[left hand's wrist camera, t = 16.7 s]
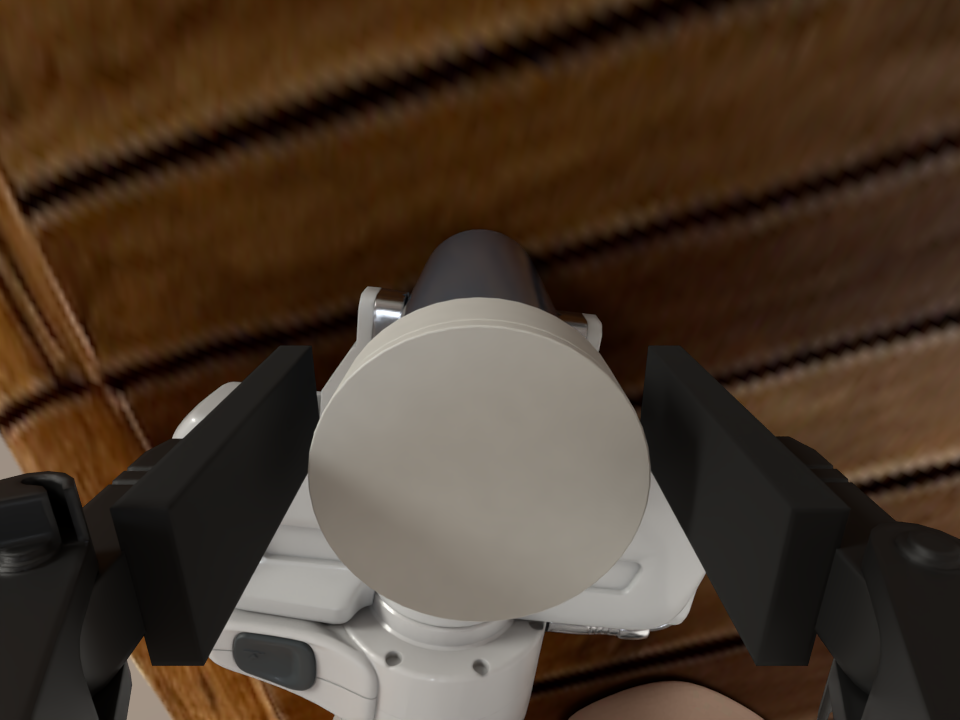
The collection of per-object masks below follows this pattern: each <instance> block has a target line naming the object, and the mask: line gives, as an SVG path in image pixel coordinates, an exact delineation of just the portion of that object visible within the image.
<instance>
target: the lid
mask: <svg viewBox="0 0 960 720" xmlns="http://www.w3.org/2000/svg"><path fill="white" fill-rule="evenodd" d="M650 480H651V464H650V456H649V448H648V444H647V440H646V437H645V433H644V430H643V427H642V425H641V422H640V420H639V418H638V416H637V414H636V412H635V409H634V408H633V406H632V404H631V403H630V401H629V399H628V398H627V396H626V395H625V393H624V391H623V390H622V388H621V386H620V385H619V383H618V381H617V380H616V378H615V377H614V375H613V373H612V372H611V370H610V368H609V367H608V365H607V364H606V362H605V361H604V359H603V358H602V356H601V355H600V353H599V352H598V351H597V350H596V349H595V348H594V347H593V346H592V344H591V343H590V342H589V341H588V340H587V339H586V338H585V337H583V336H582V335H581V334H580V333H579V332H578V331H576V330H575V329H574V328H573V327H571V326H570V325H568V324H567V323H565V322H564V321H562V320H561V319H559V318H557V317H556V316H553V315H551V314H549V313H547V312H545V311H543V310H541V309H539V308H536V307H533V306H529V305H526V304H523V303H520V302H515V301H510V300H504V299H499V298H481V297H475V298H462V299H454V300H449V301H444V302H439V303H435V304H432V305H429V306H426V307H424V308H421V309H418V310H415V311H414V312H412V313H410V314H408V315H406V316H404V317H402V318H400V319H398V320H396V321H395V322H394V323H392V324H391V325H389V326H388V327H386V328H385V329H383V330H382V331H381V332H380V333H379V334H378V335H377V336H375V337H374V338H373V339H372V340H371V341H370V342H369V343H368V344H367V345H366V346H365V347H364V349H363V350H362V351H361V352H360V354H359V355H358V356H357V357H356V359H355V360H354V362H353V363H352V365H351V367H350V368H349V370H348V372H347V373H346V375H345V377H344V378H343V380H342V381H341V383H340V385H339V386H338V388H337V390H336V391H335V393H334V394H333V396H332V398H331V399H330V401H329V403H328V404H327V406H326V408H325V409H324V411H323V413H322V415H321V417H320V420H319V422H318V424H317V427H316V429H315V432H314V435H313V439H312V443H311V447H310V451H309V462H308V484H309V493H310V498H311V502H312V507H313V511H314V514H315V516H316V519H317V522H318V524H319V527H320V529H321V531H322V533H323V535H324V537H325V538H326V540H327V542H328V544H329V546H330V547H331V548H332V550H333V551H334V552H335V554H336V555H337V557H338V558H339V559H340V561H341V562H342V563H343V564H344V565H345V566H346V567H347V568H348V569H349V570H350V571H351V572H352V573H353V574H354V575H355V576H356V577H357V578H359V579H360V580H361V581H362V582H363V583H365V584H366V585H367V586H368V587H370V588H371V589H373V590H374V591H376V592H377V593H379V594H381V595H382V596H384V597H385V598H387V599H389V600H391V601H393V602H395V603H397V604H399V605H401V606H403V607H406V608H409V609H412V610H414V611H417V612H420V613H423V614H427V615H431V616H435V617H439V618H444V619H451V620H458V621H474V622H487V621H502V620H508V619H514V618H520V617H524V616H528V615H532V614H535V613H539V612H542V611H545V610H547V609H550V608H552V607H555V606H557V605H560V604H562V603H564V602H566V601H567V600H569V599H571V598H573V597H575V596H577V595H578V594H580V593H581V592H583V591H584V590H586V589H587V588H589V587H590V586H592V585H593V584H594V583H595V582H597V581H598V580H599V579H600V578H601V577H602V576H604V575H605V574H606V573H607V572H608V571H609V570H610V569H611V568H612V567H613V566H614V564H615V563H616V562H617V561H618V560H619V559H620V558H621V556H622V555H623V554H624V552H625V551H626V549H627V548H628V546H629V545H630V543H631V542H632V540H633V538H634V536H635V534H636V532H637V530H638V528H639V526H640V524H641V521H642V518H643V515H644V513H645V510H646V507H647V502H648V496H649V491H650Z"/></svg>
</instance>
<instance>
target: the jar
mask: <svg viewBox="0 0 960 720" xmlns="http://www.w3.org/2000/svg"><path fill="white" fill-rule="evenodd" d="M475 297H481V298H499V299H504V300H510V301H515V302H520V303H523V304H526V305H529V306H533V307H536V308H539V309H541V310H543V311H545V312H547V313H549V314H551V315H553V316H556V317H557V318H559V319H560V317H559V315H558V313H557V311H556V309H555V307H554V305H553V303H552V301H551V299H550V297H549V295H548V293H547V291H546V289H545V287H544V285H543V282H542V280H541V278H540V276H539V274H538V272H537V270H536V268H535V266H534V264H533V262H532V261H531V259H530V257H529V255H528V254H527V253H526V251H525V250H524V249H523V248H522V247H521V246H520V245H519V244H518V243H517V242H515V241H514V240H513V239H511V238H509V237H507V236H506V235H503V234H501V233H498V232H495V231H491V230H482V229H481V230H469V231H464V232H461V233H458V234H456V235H454V236H451V237H450V238H448V239H447V240H445V241H444V242H443V243H441V244H440V245H439V246H438V247H437V248H436V249H435V250H434V251H433V253H432V254H431V256H430V257H429V259H428V261H427V263H426V265H425V267H424V269H423V271H422V273H421V275H420V277H419V279H418V281H417V283H416V285H415V287H414V289H413V291H412V293H411V295H410V297H409V299H408V301H407V303H406V305H405V307H404V309H403V311H402V313H401V315H400V317H399V319H400V318H402V317H404V316H406V315H408V314H410V313H412V312H414V311H415V310H418V309H421V308H424V307H426V306H429V305H432V304H435V303H439V302H444V301H449V300H454V299H462V298H475Z"/></svg>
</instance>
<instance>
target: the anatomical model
mask: <svg viewBox="0 0 960 720" xmlns="http://www.w3.org/2000/svg"><path fill="white" fill-rule="evenodd" d="M568 720H764V719H763V718H761V717H760V716H758V715H757V714H755V713H754V712H752V711H751V710H749V709H748V708H746V707H744V706H742V705H741V704H739V703H737V702H735V701H733V700H732V699H730V698H728V697H726V696H724V695H722V694H720V693H718V692H715V691H713V690H711V689H708V688H706V687H703V686H700V685H696V684H693V683H689V682H681V681H661V682H654V683H649V684H645V685H640V686H636V687H633V688H630V689H627V690H623V691H621V692H618V693H616V694H613V695H610V696H608V697H605V698H603V699H601V700H599V701H596V702H594V703H592V704H590V705H588V706H586V707H584V708H583V709H581V710H579V711H577V712H576V713H575V714H574V715H572V716H571V717H570V718H569V719H568Z"/></svg>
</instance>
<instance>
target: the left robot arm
mask: <svg viewBox="0 0 960 720" xmlns="http://www.w3.org/2000/svg"><path fill="white" fill-rule="evenodd" d="M319 420H320V418H319V409H318V400H317V391H316V382H315V373H314V364H313V355H312V346H279V347H278V348H277V349H276V350H275V351H274V352H273V353H272V354H271V355H270V356H269V357H268V358H267V359H266V360H264V361H263V362H262V363H261V364H260V365H259V366H258V367H257V368H256V369H255V370H254V371H253V372H252V373H251V374H250V375H249V376H248V377H247V378H246V379H245V380H244V381H242V382H241V383H240V384H239V385H238V386H237V387H236V388H235V389H234V390H233V391H232V392H231V393H230V394H229V395H228V396H227V397H226V398H225V399H224V400H223V401H221V402H220V403H219V404H218V405H217V406H216V407H215V408H214V409H213V410H212V411H211V412H210V413H209V414H208V415H207V416H206V417H205V418H204V419H203V420H202V421H200V422H199V423H198V424H197V425H196V426H195V427H194V428H193V429H192V430H191V431H190V432H189V433H188V434H187V435H186V436H185V437H184V438H171V439H169V440H168V441H166V442H164V443H162V444H160V445H158V446H156V447H154V448H152V449H150V450H148V451H146V452H145V453H144V454H143V455H142V456H140V457H139V458H138V459H137V460H136V461H135V462H134V463H132V464H131V465H130V466H129V467H128V470H127V471H123V472H122V473H121V474H120V475H119V476H118V477H117V478H116V479H114V480H113V483H112V485H108V486H107V487H105V488H104V489H103V490H102V491H101V492H100V493H99V494H98V495H96V496H95V497H94V498H93V499H92V500H91V501H90V502H89V503H87V504H86V505H85V506H84V507H83V508H82V505H81V502H80V498H79V495H78V491H77V488H76V484H75V481H74V478H72V477H70V476H69V475H67V474H66V473H61V472H51V471H45V472H36V473H26V474H22V475H18V476H14V477H10V478H6V479H2V480H0V720H126V719H127V713H128V706H129V700H130V694H131V688H132V681H131V673H130V670H129V666H128V663H127V659H128V658H129V656H130V655H131V653H132V652H133V650H134V649H135V648H136V646H137V645H138V643H139V642H140V640H141V639H142V638H143V636H144V637H145V641H146V645H147V649H148V652H149V656H150V660H151V663H152V666H204V664H205V663H206V661H207V659H208V657H209V655H210V653H211V651H212V650H213V648H214V646H215V644H216V642H217V640H218V639H219V637H220V635H221V633H222V631H223V629H224V627H225V626H226V624H227V622H228V620H229V618H230V616H231V614H232V613H233V611H234V609H235V607H236V605H237V603H238V602H239V600H240V598H241V596H242V594H243V592H244V590H245V589H246V587H247V585H248V583H249V581H250V579H251V577H252V576H253V574H254V572H255V570H256V568H257V566H258V565H259V563H260V561H261V559H262V557H263V555H264V553H265V552H266V550H267V548H268V546H269V544H270V542H271V541H272V539H273V537H274V535H275V533H276V531H277V529H278V528H279V526H280V524H281V522H282V520H283V518H284V516H285V515H286V513H287V511H288V509H289V507H290V505H291V504H292V502H293V500H294V498H295V496H296V494H297V492H298V491H299V489H300V487H301V485H302V483H303V481H304V480H305V478H306V476H307V474H308V462H309V451H310V447H311V443H312V439H313V435H314V432H315V429H316V427H317V424H318V422H319ZM640 422H641V425H642V427H643V430H644V433H645V437H646V440H647V444H648V448H649V456H650V464H651V472H652V474H653V476H654V478H655V480H656V481H657V483H658V485H659V487H660V489H661V491H662V492H663V494H664V496H665V498H666V500H667V502H668V504H669V505H670V507H671V509H672V511H673V513H674V515H675V516H676V518H677V520H678V522H679V524H680V526H681V528H682V529H683V531H684V533H685V535H686V537H687V539H688V541H689V542H690V544H691V546H692V548H693V550H694V552H695V553H696V555H697V557H698V559H699V561H700V563H701V565H702V566H703V568H704V570H705V572H706V574H707V576H708V577H709V579H710V581H711V583H712V585H713V587H714V589H715V590H716V592H717V594H718V596H719V598H720V600H721V602H722V603H723V605H724V607H725V609H726V611H727V613H728V614H729V616H730V618H731V620H732V622H733V624H734V626H735V627H736V629H737V631H738V633H739V635H740V637H741V639H742V640H743V642H744V644H745V646H746V648H747V650H748V651H749V653H750V655H751V657H752V659H753V661H754V663H755V664H756V666H808V663H809V660H810V656H811V652H812V649H813V645H814V641H815V637H816V634H818V636H819V637H820V639H821V640H822V642H823V643H824V644H825V646H826V647H827V649H828V650H829V652H830V653H831V654H832V656H833V657H834V659H833V663H832V666H831V669H830V673H829V676H828V680H827V683H826V687H825V690H824V693H823V697H822V700H821V704H820V707H819V711H818V718H817V720H828V717H829V713H831V712H832V711H833V717H834V720H960V539H958V538H956V537H953V536H951V535H949V534H947V533H945V532H942V531H940V530H936V529H933V528H930V527H926V526H923V525H919V524H914V523H905V522H897V521H895V520H894V519H893V518H892V517H891V516H889V515H888V514H887V513H886V512H885V511H884V510H883V509H881V508H880V507H879V506H878V505H877V504H876V503H875V502H874V501H872V500H871V499H870V498H869V497H868V496H867V495H866V494H864V493H863V492H862V491H861V490H860V489H859V488H858V487H856V486H855V485H854V484H853V483H852V482H848V479H847V478H846V477H845V476H844V475H843V474H842V473H841V472H839V471H838V470H837V469H833V465H831V464H830V463H829V462H828V461H827V460H826V459H825V458H824V457H822V456H821V455H820V454H819V453H818V452H817V451H816V450H814V449H812V448H810V447H808V446H806V445H804V444H802V443H800V442H799V441H797V440H795V439H793V438H791V437H775V436H774V435H773V434H772V433H771V432H770V431H769V430H768V429H767V428H766V427H765V426H764V425H763V424H762V423H761V422H759V421H758V420H757V419H756V418H755V417H754V416H753V415H752V414H751V413H750V412H749V411H748V410H747V409H746V408H745V407H744V406H743V405H742V404H741V403H740V402H739V401H737V400H736V399H735V398H734V397H733V396H732V395H731V394H730V393H729V392H728V391H727V390H726V389H725V388H724V387H723V386H722V385H721V384H720V383H719V382H718V381H716V380H715V379H714V378H713V377H712V376H711V375H710V374H709V373H708V372H707V371H706V370H705V369H704V368H703V367H702V366H701V365H700V364H699V363H698V362H697V361H696V360H694V359H693V358H692V357H691V356H690V355H689V354H688V353H687V352H686V351H685V350H684V349H683V348H682V347H681V346H648V355H647V364H646V373H645V382H644V391H643V400H642V409H641V418H640Z"/></svg>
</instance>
